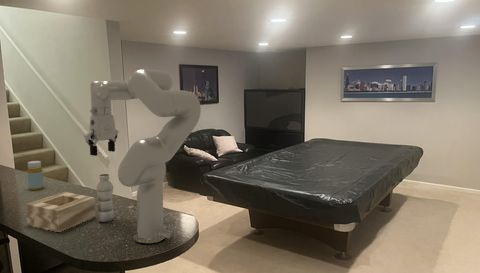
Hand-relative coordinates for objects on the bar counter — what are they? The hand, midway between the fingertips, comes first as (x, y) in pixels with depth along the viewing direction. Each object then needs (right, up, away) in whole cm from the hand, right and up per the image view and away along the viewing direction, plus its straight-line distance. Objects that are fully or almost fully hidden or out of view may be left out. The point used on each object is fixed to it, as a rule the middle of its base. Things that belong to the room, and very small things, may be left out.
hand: (103, 153), depth 140 cm
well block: (-18, -29, +3) cm, 34 cm away
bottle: (-55, -22, +46) cm, 75 cm away
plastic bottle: (0, -29, +4) cm, 29 cm away
